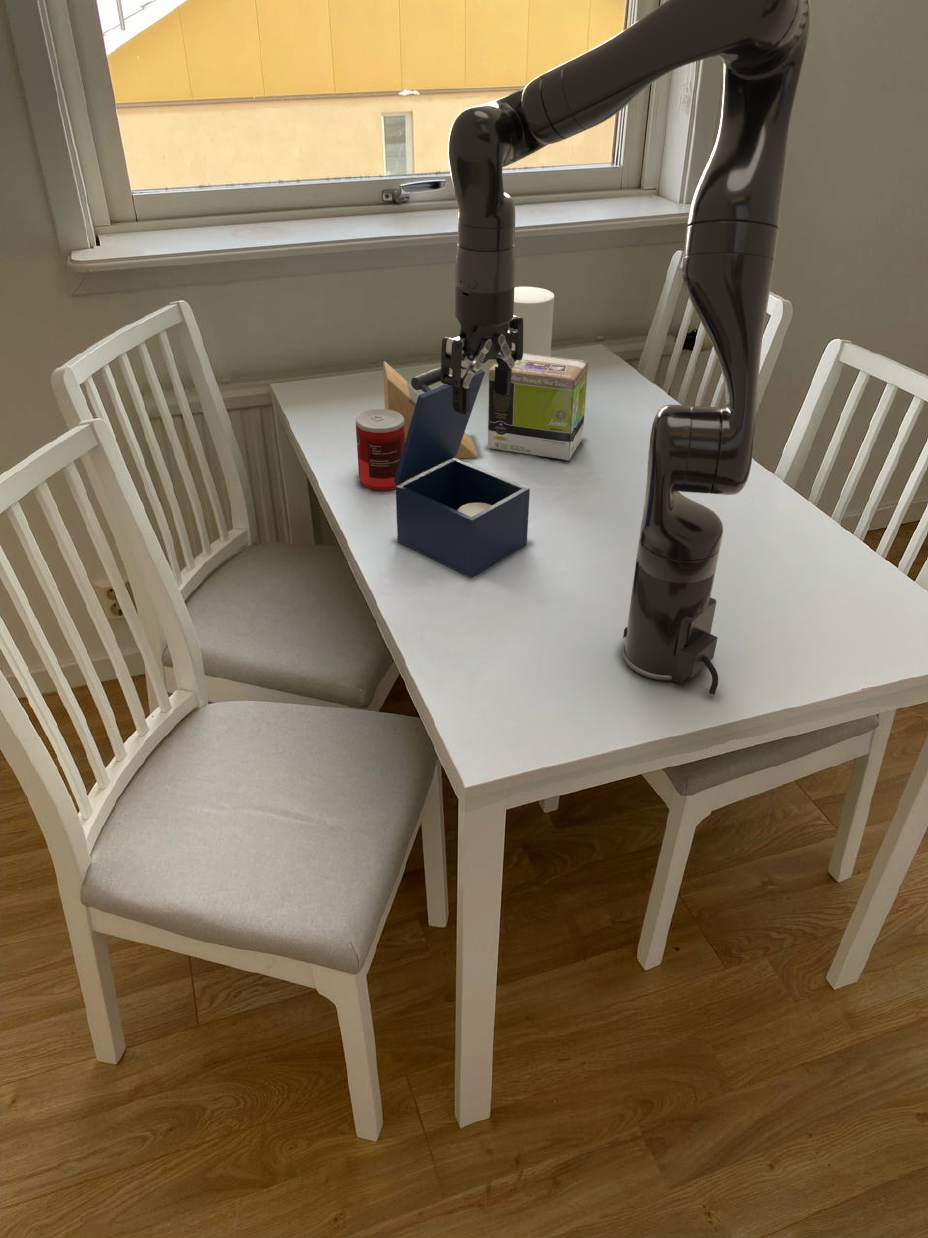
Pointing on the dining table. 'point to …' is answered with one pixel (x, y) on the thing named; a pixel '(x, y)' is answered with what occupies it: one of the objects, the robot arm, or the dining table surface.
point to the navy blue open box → (462, 516)
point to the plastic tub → (473, 508)
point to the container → (535, 318)
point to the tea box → (539, 407)
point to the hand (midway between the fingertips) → (482, 402)
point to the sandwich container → (413, 406)
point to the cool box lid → (434, 425)
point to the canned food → (379, 447)
